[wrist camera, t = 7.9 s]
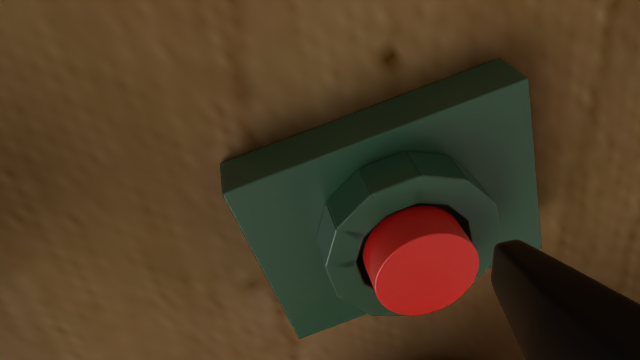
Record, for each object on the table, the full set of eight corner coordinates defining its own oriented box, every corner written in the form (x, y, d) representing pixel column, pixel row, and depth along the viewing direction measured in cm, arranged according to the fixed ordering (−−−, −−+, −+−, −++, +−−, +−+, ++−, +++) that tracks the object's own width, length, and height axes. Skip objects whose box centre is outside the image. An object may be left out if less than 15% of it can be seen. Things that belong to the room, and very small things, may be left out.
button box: (292, 305, 26) (305, 372, 23) (219, 163, 21) (223, 223, 18) (518, 220, 26) (565, 275, 23) (500, 57, 21) (557, 98, 18)
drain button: (376, 296, 22) (388, 329, 20) (350, 227, 20) (363, 258, 18) (466, 263, 22) (485, 293, 20) (451, 189, 20) (472, 217, 18)
